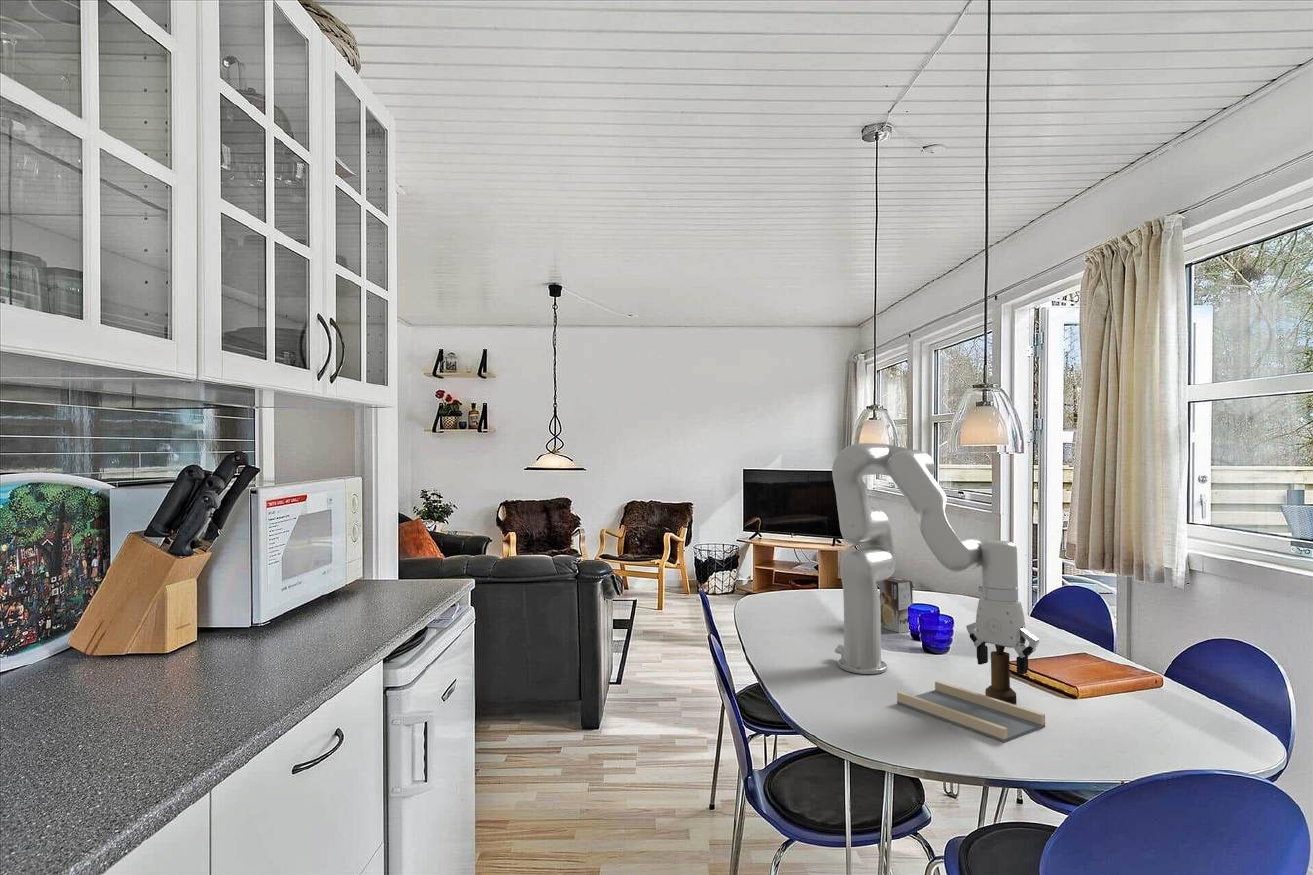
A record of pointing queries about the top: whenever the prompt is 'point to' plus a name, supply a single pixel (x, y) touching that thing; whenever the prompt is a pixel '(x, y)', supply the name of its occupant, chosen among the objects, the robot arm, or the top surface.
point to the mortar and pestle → (1000, 677)
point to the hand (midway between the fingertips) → (1001, 668)
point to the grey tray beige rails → (974, 711)
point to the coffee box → (895, 603)
